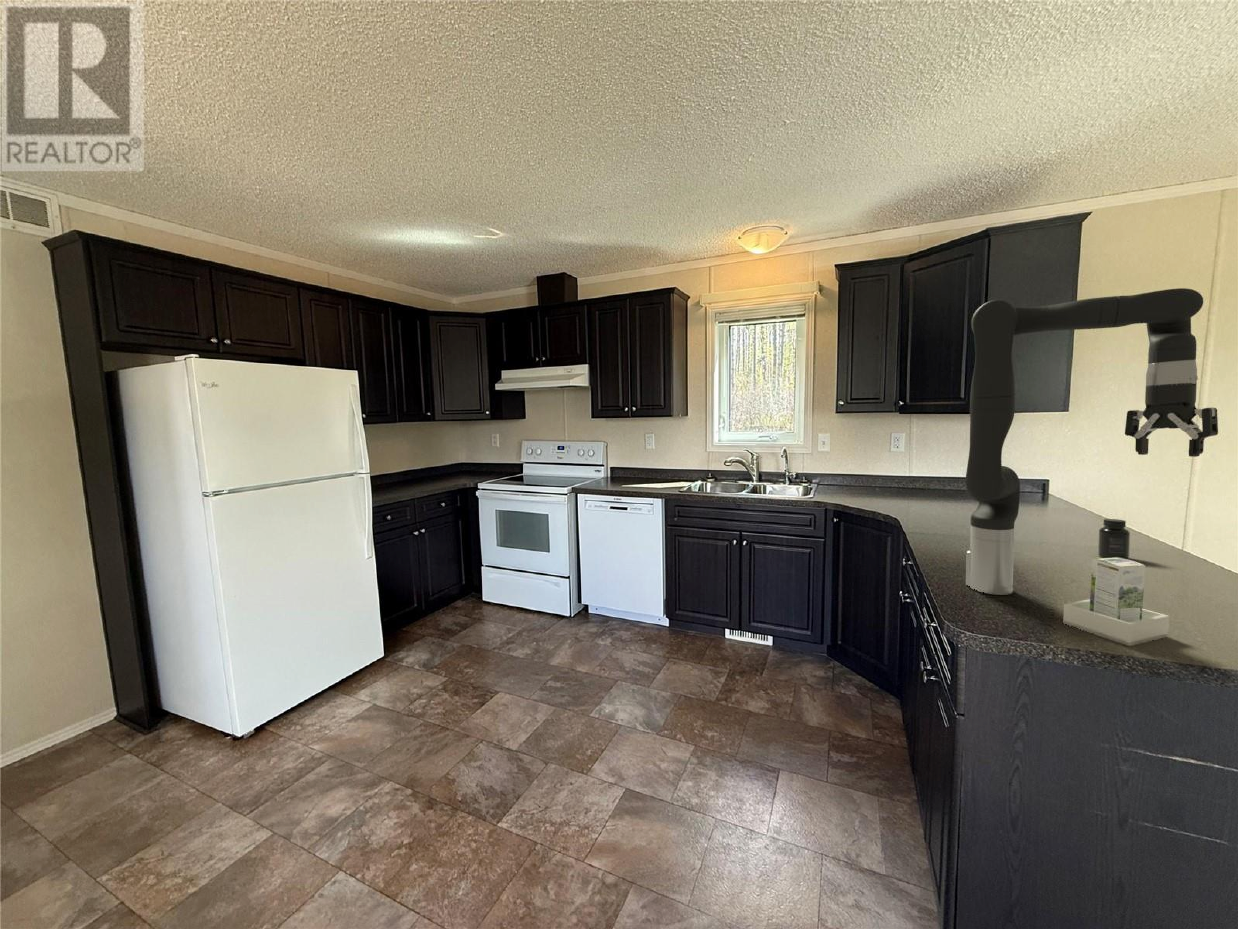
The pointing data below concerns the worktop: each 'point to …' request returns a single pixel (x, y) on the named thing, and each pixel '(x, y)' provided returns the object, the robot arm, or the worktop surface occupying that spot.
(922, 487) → the worktop surface
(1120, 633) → the bin
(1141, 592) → the syrup box
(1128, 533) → the supplement bottle
